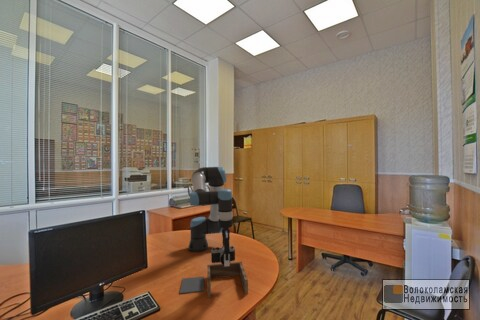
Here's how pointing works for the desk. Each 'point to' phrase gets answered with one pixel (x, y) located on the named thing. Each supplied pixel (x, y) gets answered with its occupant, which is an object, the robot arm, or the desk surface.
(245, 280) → the cubby
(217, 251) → the camera
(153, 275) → the desk surface
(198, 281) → the mat
